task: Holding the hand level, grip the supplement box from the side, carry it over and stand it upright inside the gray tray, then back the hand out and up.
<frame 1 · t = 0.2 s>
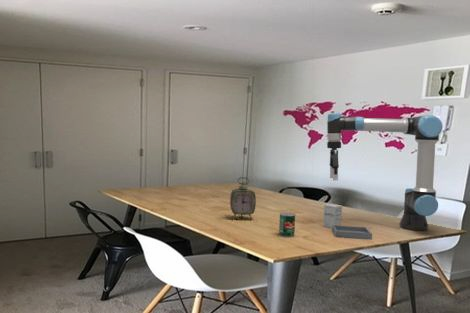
hand: (333, 179, 229), 27 cm above the table, tool pointing down, fingers open, 13 cm apart
tabletop clock: (241, 219, 244), on the table
supplement box: (331, 227, 233), on the table
gray tray: (351, 234, 216), on the table
canned tomato: (286, 235, 210), on the table
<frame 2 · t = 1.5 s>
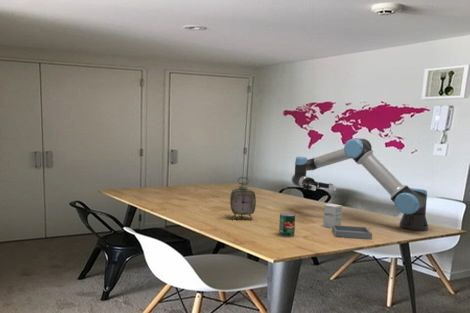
hand: (325, 188, 240), 21 cm above the table, tool horizontal, fingers open, 13 cm apart
nothing on the table moved.
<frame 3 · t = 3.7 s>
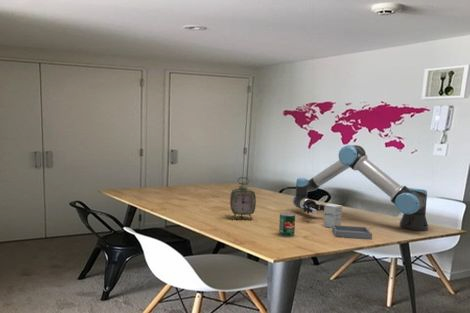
hand: (326, 211, 238), 7 cm above the table, tool horizontal, fingers open, 13 cm apart
nothing on the table moved.
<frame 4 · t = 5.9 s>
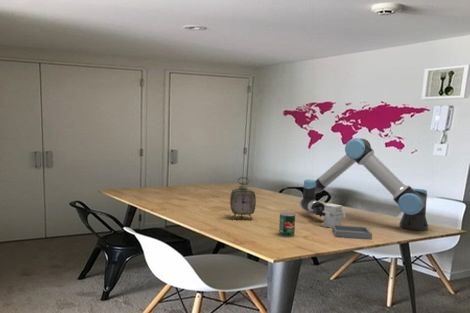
hand: (337, 215, 228), 8 cm above the table, tool horizontal, fingers closed on supplement box, 9 cm apart
supplement box: (331, 227, 233), on the table, touching gripper
everything else where it was.
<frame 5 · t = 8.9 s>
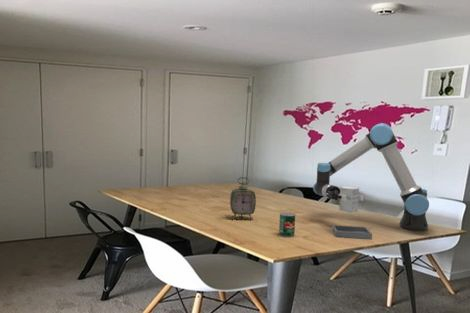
hand: (354, 198, 213), 20 cm above the table, tool horizontal, fingers closed on supplement box, 9 cm apart
supplement box: (348, 211, 218), point 12 cm above the table, touching gripper
everything else where it was.
when the fingers open (10 cm above the table, at t = 12.1 s): supplement box drops 1 cm, resting on gray tray.
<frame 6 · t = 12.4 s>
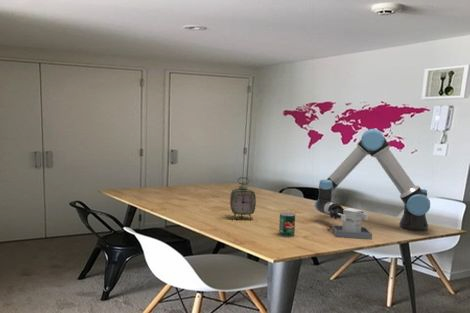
hand: (356, 217, 212), 10 cm above the table, tool horizontal, fingers open, 13 cm apart
supplement box: (351, 233, 216), point 1 cm above the table, touching gray tray
everything else where it was.
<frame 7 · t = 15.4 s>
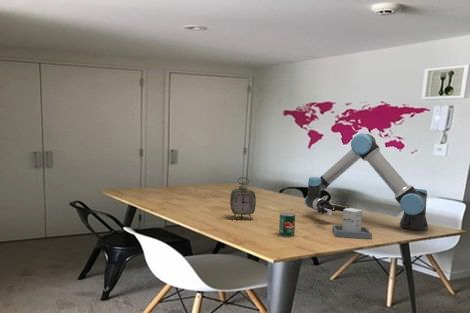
hand: (342, 212, 225), 10 cm above the table, tool horizontal, fingers open, 13 cm apart
nothing on the table moved.
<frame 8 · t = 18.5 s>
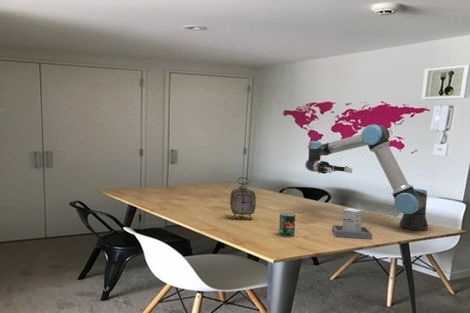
hand: (341, 170, 233), 32 cm above the table, tool horizontal, fingers open, 13 cm apart
nothing on the table moved.
at the end: supplement box inside the target area on the gray tray (0.1 cm from its centre), point 0.6 cm above the gray tray's base; supplement box tilted 0°; the gripper is holding nothing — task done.
